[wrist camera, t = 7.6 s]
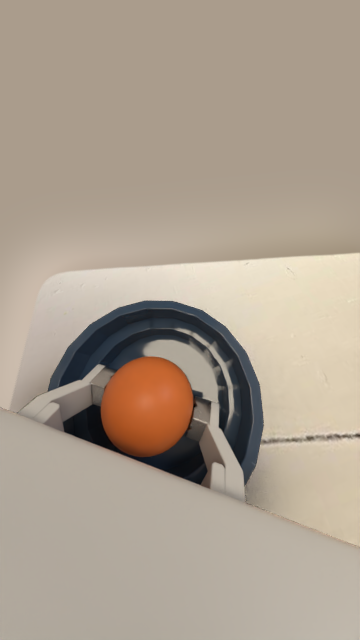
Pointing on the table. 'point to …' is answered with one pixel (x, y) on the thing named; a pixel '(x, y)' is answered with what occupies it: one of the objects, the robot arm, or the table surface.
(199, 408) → the robot arm
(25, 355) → the table surface
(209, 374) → the glazed bowl
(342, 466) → the table surface
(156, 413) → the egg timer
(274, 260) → the table surface
